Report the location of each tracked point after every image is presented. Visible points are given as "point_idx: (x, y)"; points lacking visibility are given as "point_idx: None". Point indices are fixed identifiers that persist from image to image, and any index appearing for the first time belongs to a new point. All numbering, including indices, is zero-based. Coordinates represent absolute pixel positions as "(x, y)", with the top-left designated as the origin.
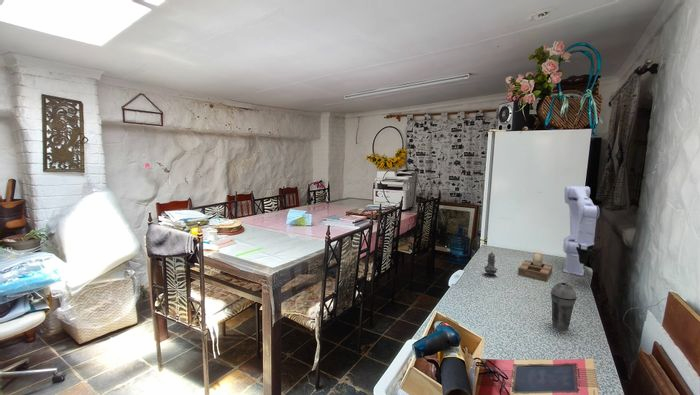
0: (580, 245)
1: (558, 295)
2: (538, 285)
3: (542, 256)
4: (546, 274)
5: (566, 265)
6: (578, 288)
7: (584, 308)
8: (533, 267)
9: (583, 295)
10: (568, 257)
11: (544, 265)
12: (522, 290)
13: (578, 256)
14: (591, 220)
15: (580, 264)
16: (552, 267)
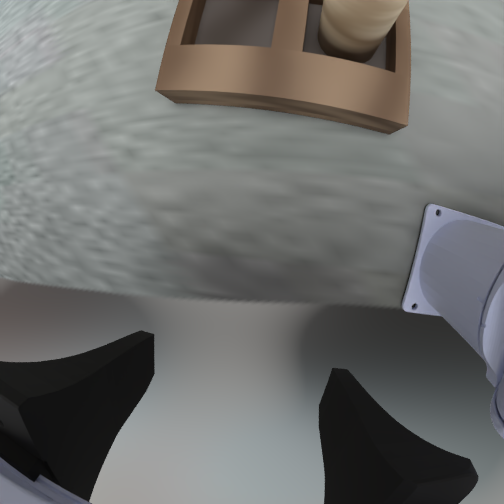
0: (384, 488)
1: None
2: (101, 82)
3: (362, 6)
4: (157, 85)
5: (465, 229)
6: (165, 263)
7: (7, 258)
8: (278, 5)
9: (92, 273)
10: (496, 250)
11: (368, 66)
12: (37, 58)
13: (481, 334)
14: None
15: (451, 322)
16: (399, 127)
